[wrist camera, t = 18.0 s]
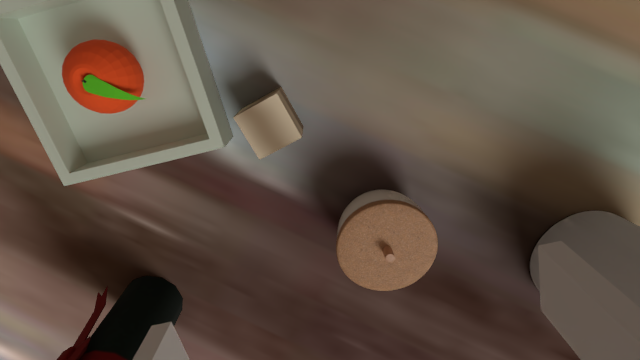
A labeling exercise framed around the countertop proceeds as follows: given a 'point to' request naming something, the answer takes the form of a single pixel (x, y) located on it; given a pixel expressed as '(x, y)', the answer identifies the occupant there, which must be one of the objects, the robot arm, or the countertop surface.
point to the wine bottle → (127, 320)
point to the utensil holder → (599, 248)
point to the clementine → (103, 76)
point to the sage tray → (135, 122)
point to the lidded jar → (385, 241)
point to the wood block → (269, 123)
